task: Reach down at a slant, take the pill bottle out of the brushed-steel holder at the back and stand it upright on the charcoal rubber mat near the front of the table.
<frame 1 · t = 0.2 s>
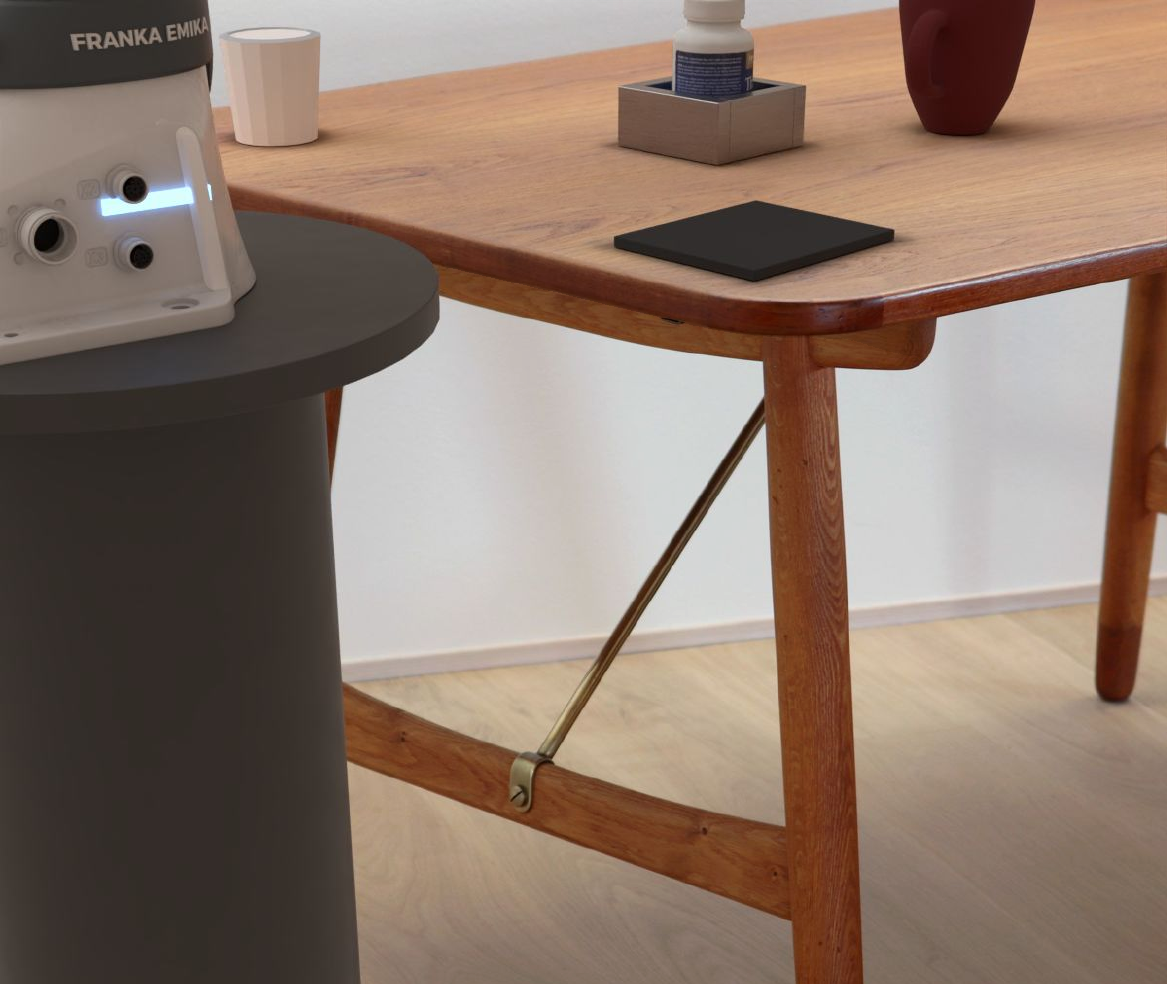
mug: (949, 135, 130), on the table
holder: (710, 145, 126), on the table
pill bottle: (710, 148, 127), resting in holder
mat: (754, 243, 103), on the table
beige cup: (277, 140, 129), on the table
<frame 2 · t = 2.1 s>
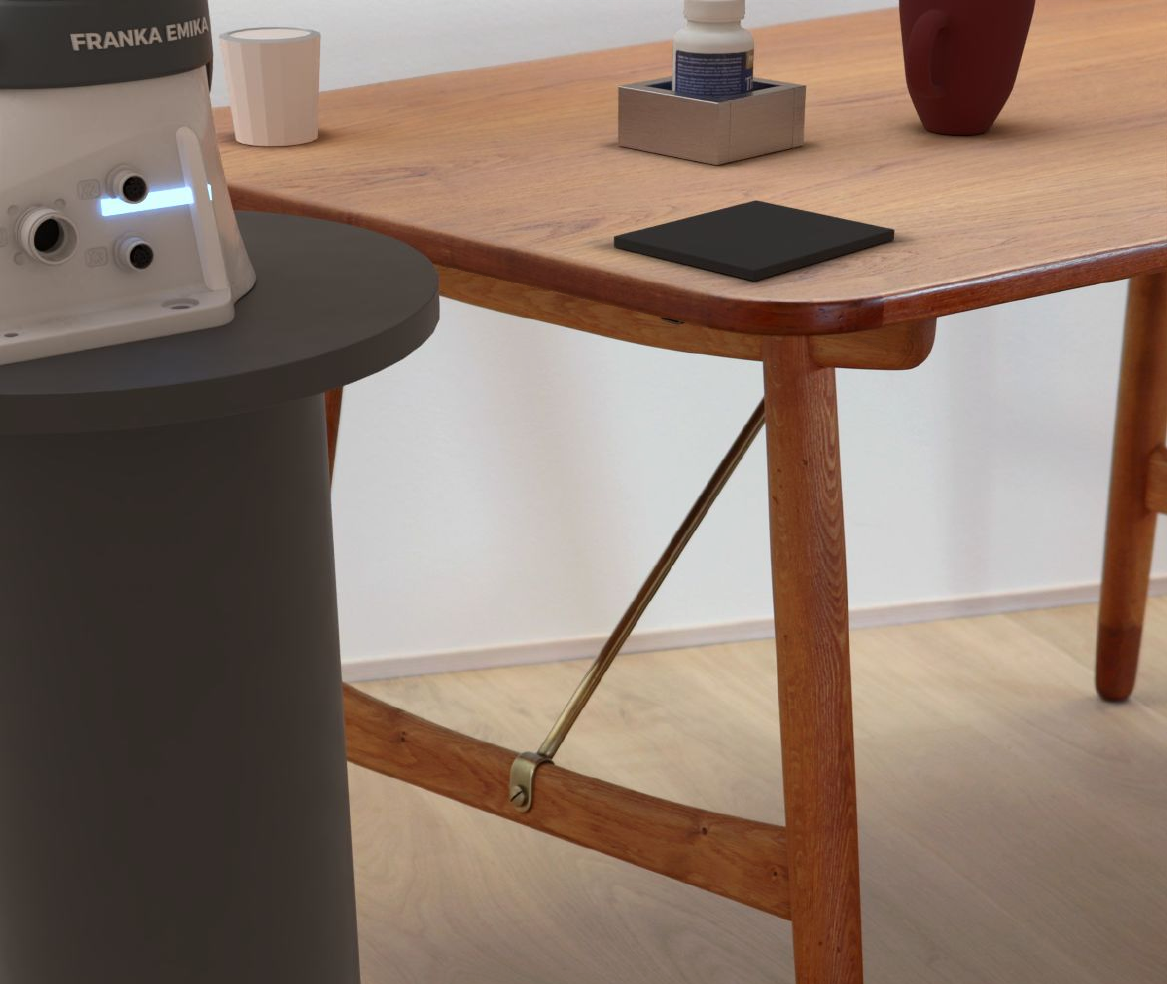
nothing on the table moved.
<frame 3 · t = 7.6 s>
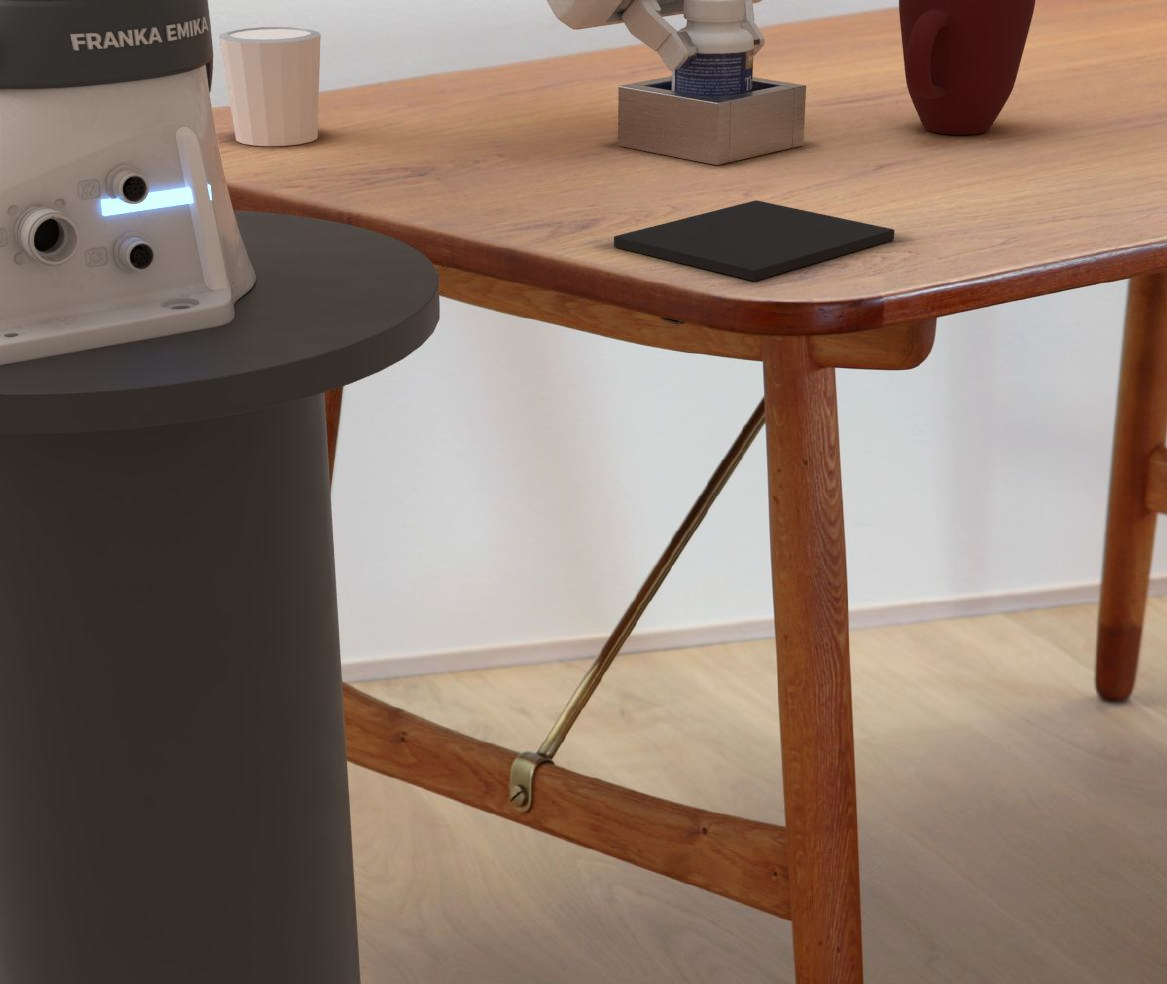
hand: (720, 57, 124), 6 cm above the table, tool tilted 45°, fingers closed on pill bottle, 5 cm apart
pill bottle: (710, 148, 127), resting in holder, touching gripper
everything else where it was.
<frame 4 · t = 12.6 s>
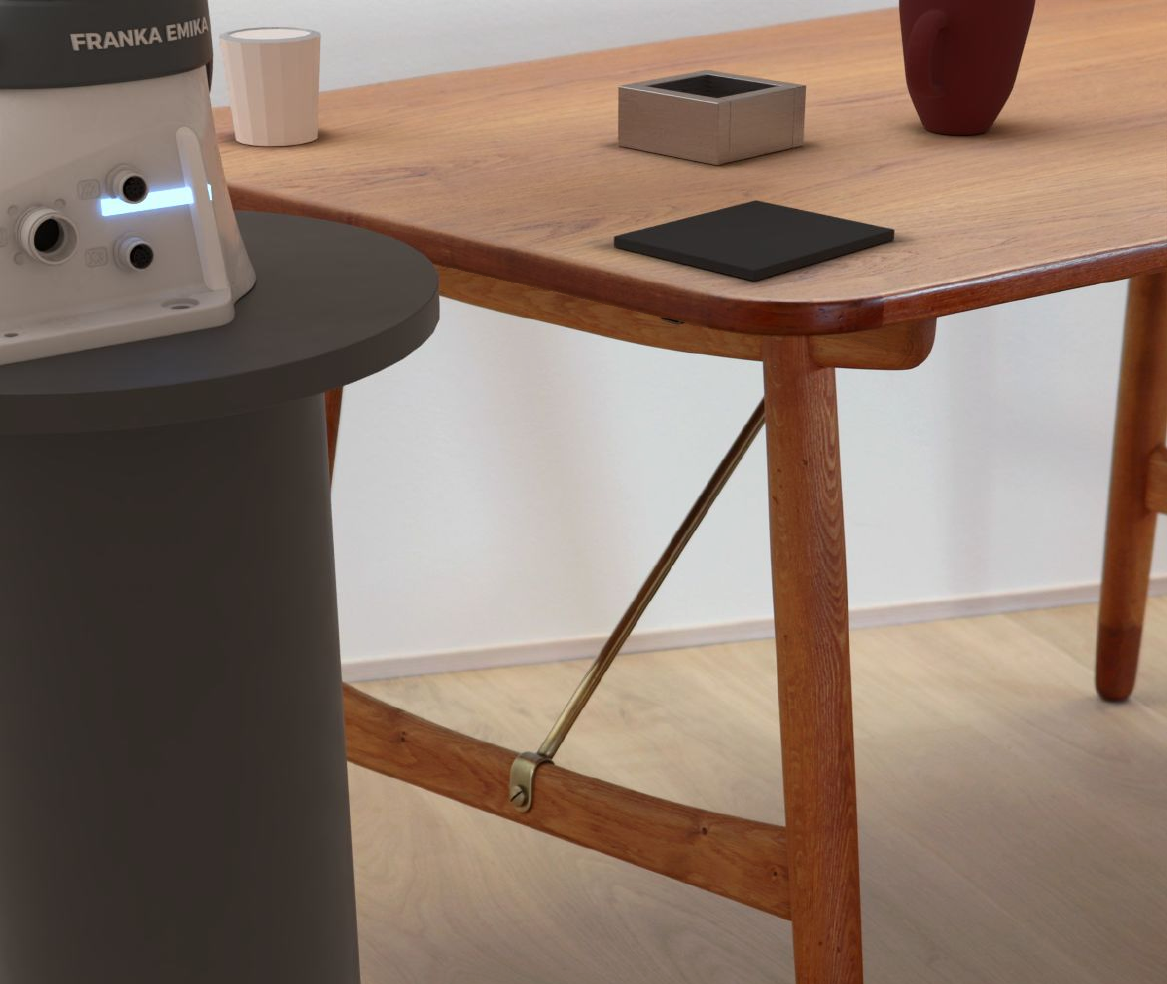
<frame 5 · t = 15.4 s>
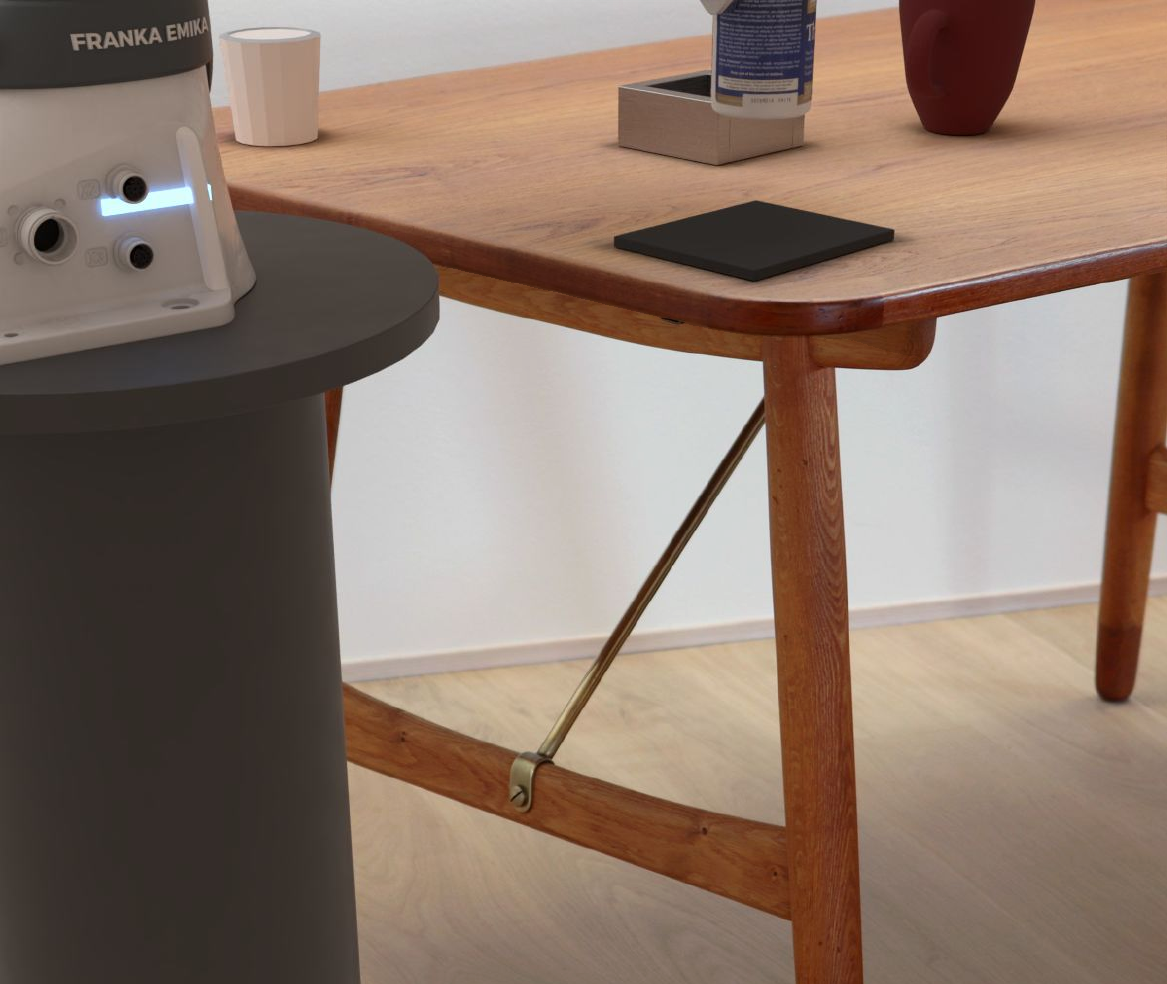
pill bottle: (760, 116, 100), point 7 cm above the table, touching gripper
everything else where it was.
when the fingers open (6 cm above the table, at t = 17.7 s): pill bottle stays where it is, resting on mat.
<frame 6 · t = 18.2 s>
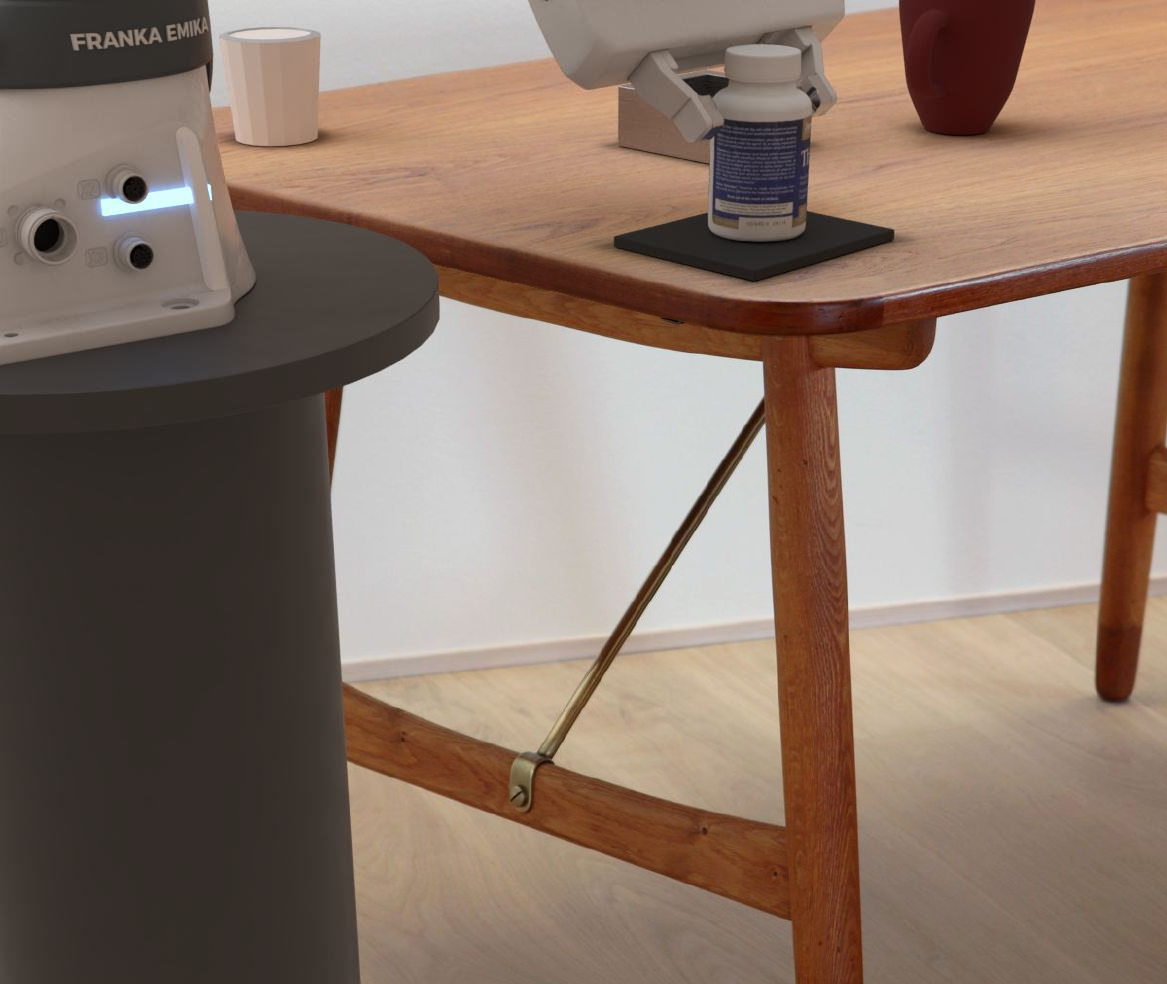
hand: (767, 122, 100), 7 cm above the table, tool tilted 45°, fingers open, 8 cm apart
pill bottle: (756, 235, 103), resting on mat
everything else where it was.
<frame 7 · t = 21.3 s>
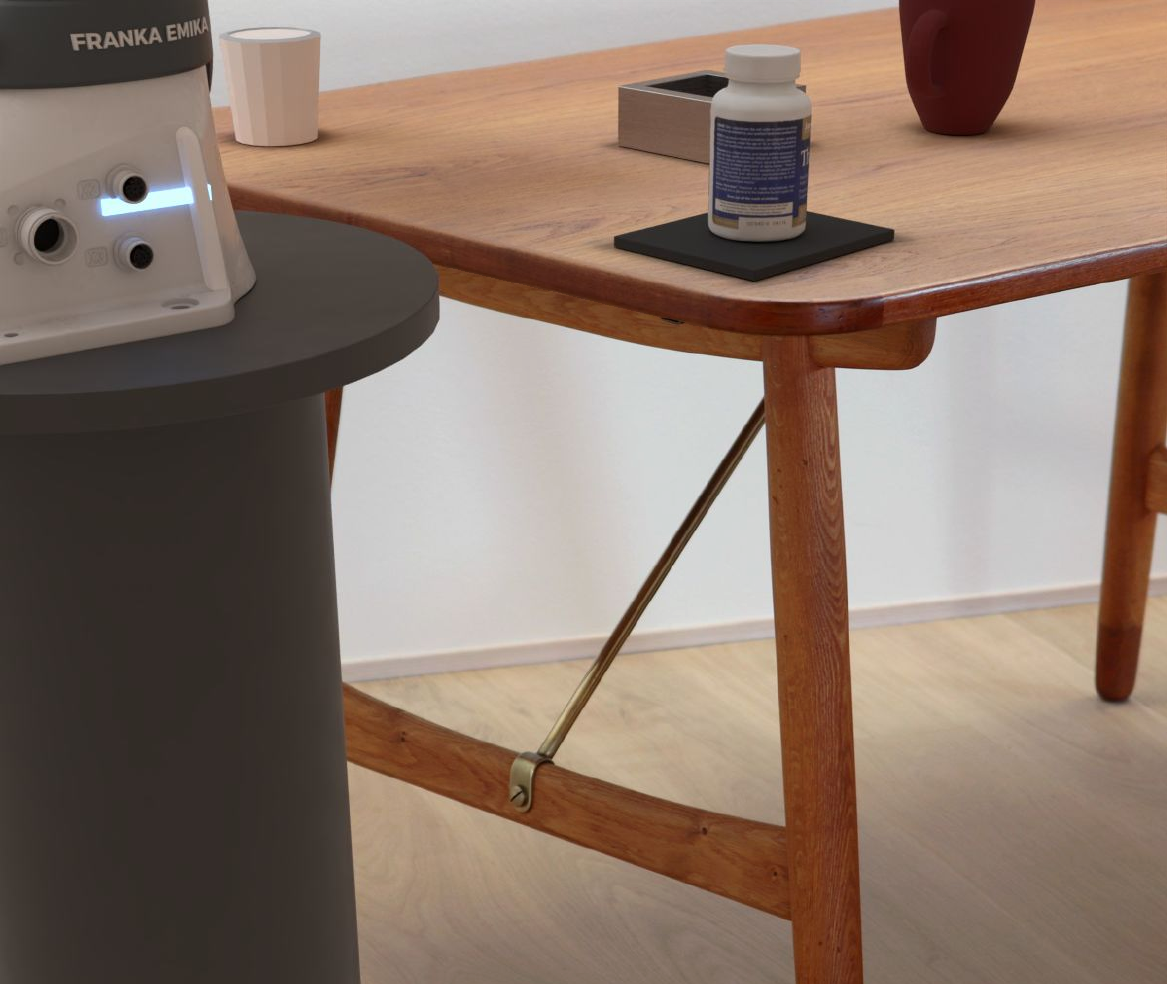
nothing on the table moved.
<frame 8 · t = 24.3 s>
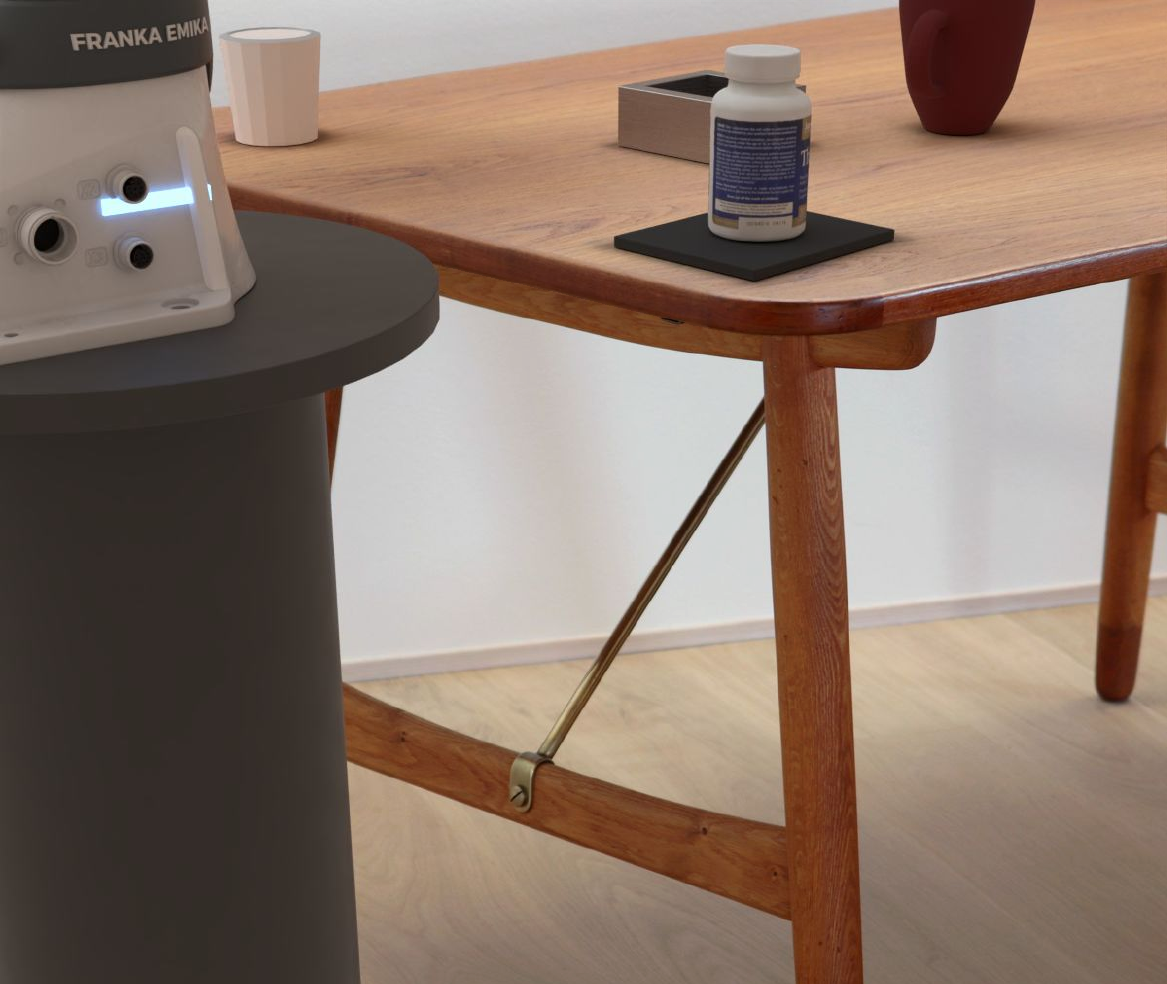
nothing on the table moved.
at the end: pill bottle inside the target area on the mat (0.1 cm from its centre), point 0.4 cm above the mat's base; pill bottle tilted 0°; pill bottle touching mat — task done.
